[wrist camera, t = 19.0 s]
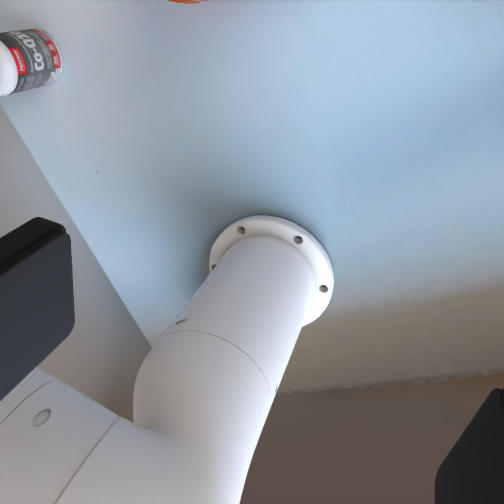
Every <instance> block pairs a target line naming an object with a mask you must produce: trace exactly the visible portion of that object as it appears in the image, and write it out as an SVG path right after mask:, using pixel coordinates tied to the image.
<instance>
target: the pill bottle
mask: <svg viewBox="0 0 504 504" xmlns="http://www.w3.org/2000/svg"><path fill="white" fill-rule="evenodd" d="M62 69H63V59H62V55H61V52H60V50H59V48H58V46H57V44H56V42H55V41H54V40H53V39H52V38H51V37H50V36H49V35H48V34H47V33H45V32H43V31H41V30H37V29H28V30H21V31H13V32H4V33H0V96H4V95H9V94H13V93H17V92H21V91H25V90H29V89H32V88H36V87H40V86H44V85H48V84H51V83H53V82H55V81H56V80H58V78H59V77H60V76H61V73H62Z"/></svg>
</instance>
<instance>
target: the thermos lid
mask: <svg viewBox="0 0 504 504" xmlns="http://www.w3.org/2000/svg"><path fill="white" fill-rule="evenodd" d="M169 1H172V2H177V3H185V4H187V3H198V2H200V1H205V0H169Z"/></svg>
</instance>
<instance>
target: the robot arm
mask: <svg viewBox="0 0 504 504" xmlns="http://www.w3.org/2000/svg"><path fill="white" fill-rule="evenodd" d="M243 227H244V228H243ZM299 236H301V238H300V237H299ZM209 272H210V274H209V275H208V277H207V278H206V279H205V281H204V282H203V283H202V284H201V286H200V287H199V288H198V290H197V291H196V292H195V293H194V295H193V296H192V297H191V299H190V300H189V301H188V303H187V304H186V305H185V306H184V308H183V309H182V310H181V312H180V313H179V314H178V316H177V317H176V318H175V319H174V321H173V322H172V323H171V325H170V326H169V327H168V328H167V330H166V331H165V332H164V334H163V335H162V336H161V338H160V339H159V340H158V341H157V343H156V344H155V345H154V347H153V348H152V349H151V351H150V352H149V353H148V355H147V356H146V358H145V359H144V361H143V363H142V366H141V367H140V370H139V372H138V375H137V379H136V382H135V387H134V397H133V416H134V423H132V422H130V421H128V420H126V419H125V418H123V417H120V416H118V415H116V414H115V413H113V412H112V411H110V410H108V409H107V408H105V407H103V406H102V405H100V404H98V403H97V402H95V401H94V400H92V399H90V398H89V397H87V396H86V395H84V394H82V393H81V392H79V391H77V390H76V389H74V388H72V387H71V386H69V385H68V384H66V383H65V382H63V381H61V380H59V379H57V378H55V377H54V376H52V375H50V374H49V373H47V372H45V371H43V370H41V369H40V368H38V367H37V366H38V365H39V364H40V363H41V362H42V361H43V360H44V359H45V358H46V357H47V356H48V355H49V354H50V353H51V352H52V351H53V350H54V349H55V348H56V347H57V346H58V345H59V344H60V343H61V342H62V341H63V340H65V339H66V338H67V337H68V335H69V334H70V333H71V331H72V329H73V327H74V323H75V315H74V295H73V276H72V257H71V240H70V236H69V234H67V233H66V229H65V228H64V226H63V225H61V224H58V223H55V222H53V221H50V220H47V219H44V218H41V217H36V218H33V219H31V220H30V221H28V222H26V223H25V224H23V225H21V226H20V227H18V228H16V229H15V230H13V231H11V232H10V233H8V234H6V235H5V236H3V237H1V238H0V504H239V503H240V499H241V494H242V491H243V487H244V483H245V479H246V475H247V472H248V469H249V465H250V462H251V459H252V456H253V453H254V450H255V447H256V445H257V442H258V439H259V436H260V434H261V431H262V428H263V426H264V423H265V420H266V418H267V415H268V413H269V410H270V407H271V404H272V402H273V399H274V397H275V394H276V392H277V389H278V387H279V384H280V382H281V379H282V376H283V374H284V371H285V369H286V366H287V363H288V361H289V358H290V356H291V353H292V351H293V348H294V345H295V343H296V340H297V338H298V335H299V333H300V330H301V327H302V326H304V325H306V324H308V323H310V322H312V321H314V320H315V319H316V318H317V317H318V316H320V315H321V314H322V312H323V311H324V310H325V308H326V307H327V305H328V303H329V300H330V298H331V295H332V291H333V287H334V274H333V268H332V265H331V262H330V259H329V257H328V255H327V253H326V252H325V250H324V248H323V247H322V245H321V244H320V243H319V242H318V241H317V240H316V239H315V238H314V236H313V235H311V234H310V233H309V232H307V231H306V230H305V229H304V228H302V227H300V226H298V225H297V224H295V223H293V222H291V221H288V220H285V219H282V218H279V217H274V216H267V215H261V216H250V217H246V218H242V219H240V220H238V221H236V222H233V223H232V224H231V225H229V226H228V227H227V228H225V229H224V231H223V232H222V233H221V234H220V235H219V236H218V238H217V239H216V241H215V242H214V244H213V246H212V249H211V252H210V257H209ZM435 504H504V389H503V390H501V389H499V388H495V389H493V390H492V392H491V393H490V394H489V396H488V397H487V399H486V400H485V401H484V403H483V404H482V406H481V407H480V409H479V410H478V412H477V413H476V415H475V416H474V418H473V419H472V421H471V422H470V423H469V425H468V426H467V428H466V429H465V431H464V432H463V433H462V435H461V436H460V438H459V439H458V441H457V442H456V444H455V445H454V447H453V448H452V449H451V451H450V452H449V454H448V455H447V457H446V458H445V460H444V461H443V463H442V464H441V465H440V467H439V469H438V472H437V475H436V479H435Z"/></svg>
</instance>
